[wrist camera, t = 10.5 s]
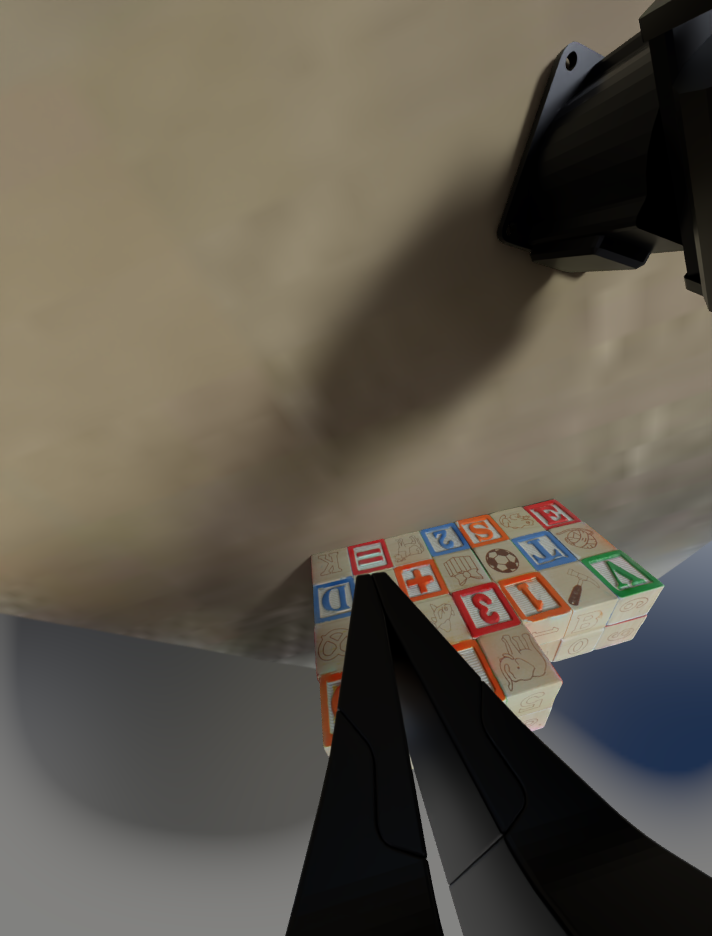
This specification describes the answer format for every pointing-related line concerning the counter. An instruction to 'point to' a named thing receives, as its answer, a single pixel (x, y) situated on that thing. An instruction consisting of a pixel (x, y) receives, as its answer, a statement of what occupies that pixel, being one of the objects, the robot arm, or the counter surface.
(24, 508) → the counter surface
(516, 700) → the stack of blocks
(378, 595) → the robot arm
